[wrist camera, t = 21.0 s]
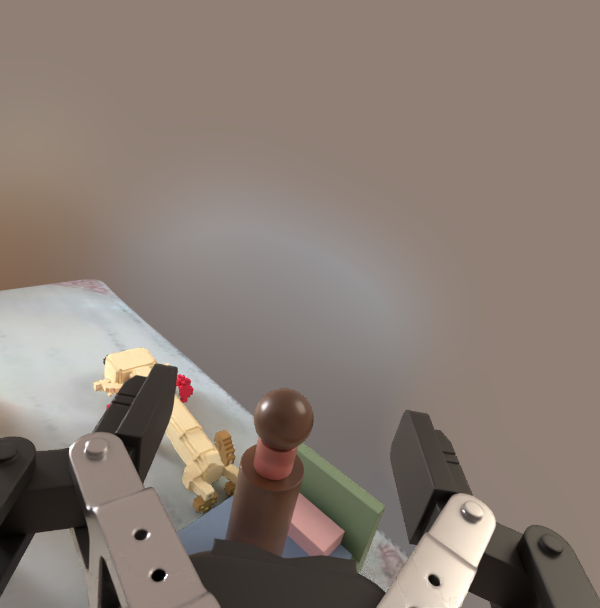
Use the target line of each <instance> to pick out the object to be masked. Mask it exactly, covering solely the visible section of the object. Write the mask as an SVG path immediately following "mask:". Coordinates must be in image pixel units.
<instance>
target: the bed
mask: <svg viewBox="0 0 600 608" xmlns="http://www.w3.org/2000/svg"><path fill="white" fill-rule="evenodd" d="M296 454H297V455H298V456H299V458H300V459H301V461H302V463H303V466H304V477H303V480H302V484H301V488H300V491H299V495H298V498H297V502H296V506H295V509H294V513H293V517H292V520H291V524H290V528H289V531H288V535H287V538H286V542H285V546H284V549H283V553H282V557H283V558H296V557H307V556H317V555H324V556H331V557H337V558H343V559H350V560H356V568H357V573H358V572H359V571H360V570H361V568H362V566H363V563H364V561H365V558H366V556H367V553H368V550H369V548H370V545H371V543H372V540H373V537H374V535H375V532H376V530H377V527H378V525H379V522H380V519H381V517H382V514H383V512H384V509H385V506H384V505H383V504H381V503H380V502H379V501H378V500H376V499H375V498H373V496H371V495H370V494H369V493H367V492H366V491H365V490H363V489H362V488H361V487H360V486H358V485H357V484H356V483H354V482H353V481H352V480H350V479H349V478H348V477H346V476H345V475H344V474H343V473H341V472H340V471H339V470H337V469H336V468H335V467H334V466H332V465H331V464H329V463H328V462H327V461H326V460H325V459H323V458H322V457H321V456H319V455H318V454H316V453H315V452H314V451H313V450H311V449H310V448H309V447H308V446H306V445H305V444H304V443H302V444H300V445H299V446H298V449H297V453H296ZM233 497H234V495H233V496H231V497H230V498H228V499H227V500H225V501H224V502H222V503H221V504H219V505H218V506H216V507H215V508H213V509H212V510H210V511H209V512H207V513H206V514H204V515H203V516H201V517H200V518H198V519H197V520H196V521H194V522H193V523H191V524H190V525H188V526H187V527H185V528H184V529H182V530H181V531H179V532H178V533H177V534H178V536H179V538H180V540H181V542H182V544H183V546H184V548H185V550H186V552H187V554H188V555H191V554H194V553H197V552H202V551H208V550H212V547H213V542H214V538H216V539H222V540H225V538H226V533H227V528H228V523H229V518H230V513H231V508H232V502H233Z"/></svg>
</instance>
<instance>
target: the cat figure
mask: <svg viewBox="0 0 600 608" xmlns="http://www.w3.org/2000/svg"><path fill="white" fill-rule="evenodd" d="M103 363H104V364H105V374H104V377H105V379H103V380H100V381H96V382H94V390H95V391H98V390H100V391H105V392H109V393H108V396H109V397H110V396H111V395H112V394H114V393H116V395H117V393H118V391H119V390H120V388H121V387H122V385H123V384H124V382H126V381H127V380H129V379H130V378H132V377H134V376H135V375H140V376H145V377H147V376H148V375H149V373H150V371H151V369H152V368H153V366H154V364H155V363H157V361H156V360H155V359H154V357H153V356H152V355H151V354H150V353H149V351H148V350H146V349H145V348H144V349H143V348H142V347H141V348H137V349H131V350H127V351H123V352H119V353H113V354H108V355H107V357H105V359H104V362H103ZM163 365H168V366H169V364H168V363H166V364H163ZM177 377H178V378H177V381H176V386H178V388H179V395H180V397H181V398H180V399H179V398H178V397H177V396H176V394H175V399H174V406H173V411H172V415H171V418H170V421H169V424H168V426H167V429H166V431H165V433H166V435H167V436H168V438H169V439H170V440H171V442H172V443H173V445H172V446H173V447H174V448H175V450H176V451H177V453H178V454H179V456H180V457H181V458H182V460H183V461H184V463H185V464H186V465H187V467H185V469H184V473H183V477H182V483H183V484H184V485H185V487H186V488H187V490H190V491H191V490H192V491H194V492H195V493H196V495H197V496H199V497H197V498H195V499H194V501H193V507H194V508H195V510H196V511H197V513H198V512H201V513H202V514H203V513H205V512H206V511H208V510H210V508H211V505H213V504H215V503H217V499H218V496H217V494H216V493H215V490H214V489H213V488H212V486H211V485H210V484H212V483H214V482H216V481H218V478H220V477H221V476H222V475H223V476H226V478H227V479H228V480H231V481H229V482H227V483H226V485H225V488H224V490H225V491H226V492H227V494H228V495H229V496H230V495H232V496H233V495H234V492H235V487H236V482H237V477H238V472H239V469H238V468H237V467H234V466H233V463H234V460H235V455H234V451H235V449H234V448H233V446H234V445H233V444H232V440H231V435H230V434H229V433H228V432H227V431H226V430H225V431H224V430H223V431H220V432H218V433H216V434H215V438H214V441H215V442H216V443H215V445H216V446H217V448H218V449H219V450H218V451H217V449H216V447H215V446H214V445H213V443H212V442H211V441H210V440H209V438H208V437H207V436H206V435H205V433H204V432H203V431H202V427H201V426H200V424H199V423H198V422H197V421H196V419H195V418H194V417H193V416H192V414H191V413H190V412H189V411H188V409H187V408H186V407H185V406H184V404H183V403H184V402H187V399H188V397H190V395H192V394H193V388H192V386H190V383H191V380H190V379H188V378H185V376H184V375H181V374H179V375H177ZM111 403H112V402H111ZM109 405H110V404H109ZM109 405H107V408H108V407H109Z"/></svg>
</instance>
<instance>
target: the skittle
mask: <svg viewBox="0 0 600 608" xmlns="http://www.w3.org/2000/svg"><path fill="white" fill-rule="evenodd" d="M254 425H255V429H256V432H257V434H258V436H259V438H258V442H257V445H254V446H252V447H250V448H249V449H247V450H246V451H245V453H244V454H243V456H242V458H241V462H240V467H239V472H238V477H237V482H236V487H235V492H234V497H233V502H232V508H231V513H230V518H229V523H228V528H227V533H226V538H225V540H229V541H235V542H241V543H248V544H251V545H254V546H256V547H259V548H261V549H263V550H266V551H268V552H271V553H273V554H276V555H278V556H280V557H282V553H283V549H284V546H285V542H286V538H287V535H288V531H289V528H290V524H291V520H292V517H293V513H294V509H295V506H296V502H297V498H298V495H299V491H300V488H301V484H302V480H303V477H304V466H303V463H302V461H301V459H300V458H299V456H298V455H297V454H296V453H297V449H298V446H299V445H300V444H302V443H303V442H304V441H305V440H306V438H307V437H308V436H309V434H310V432H311V429H312V426H313V411H312V408H311V405H310V403H309V402H308V400H307V399H306V398H305V397H304V396H303V395H302V394H300V393H299V392H297V391H295V390H292V389H287V388H281V389H276V390H273V391H271V392H269V393H267V394H266V395H265V396H264V397H263V398H262V399H261V400H260V401H259V403H258V405H257V407H256V410H255V414H254Z"/></svg>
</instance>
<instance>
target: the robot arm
mask: <svg viewBox="0 0 600 608" xmlns="http://www.w3.org/2000/svg"><path fill="white" fill-rule="evenodd" d="M177 373H178V368H177V367H174V366H168V365H163V364H157V363H155V364H154V366H153V368H152V369H151V371H150V373H149V375H148V376H147V377H145V376H140V375H135V376H134V377H132V378H130V379H129V380H127V381H126V382H124V384H123V385H122V387H121V388H120V390H119V391H118V393H117V395H116V396H115V398H114V399H113V401H112V403H111V404H110V405H109V407H108V408H107V410H106V412H105V413H104V415H103V416H102V418H101V419H100V421H99V422H98V424H97V426H96V427H95V429H94V430H93V432H92V433H90V434H87V435H84V436H82V437H80V438H79V439H77V440H76V441H75V442H74V443H73V444H72V446H71V447H70V448H66V449H60V450H48V451H36V449H35V446H34V444H33V443H32V442H31V441H29V440H28V439H25V438H22V437H4V438H0V597H1V595H2V593H3V591H4V589H5V587H6V586H7V584H8V582H9V580H10V578H11V577H12V575H13V573H14V571H15V569H16V567H17V566H18V564H19V562H20V560H21V558H22V556H23V555H24V553H25V551H26V549H27V547H28V545H29V544H30V542H31V540H32V538H33V536H34V534H35V533H38V532H45V531H53V530H61V529H68V528H70V531H71V534H72V537H73V541H74V544H75V547H76V551H77V554H78V557H79V561H80V564H81V567H82V571H83V574H84V577H85V581H86V585H87V591H88V599H89V605H90V608H460V607H461V605H462V603H463V601H464V598H465V596H466V594H467V592H468V591H469V592H471V593H473V594H475V595H477V596H479V597H481V598H484V599H486V600H488V601H490V604H491V608H600V599H599V597H598V595H597V593H596V592H595V590H594V588H593V586H592V584H591V583H590V580H589V578H588V577H587V575H586V573H585V571H584V569H583V567H582V565H581V563H580V561H579V560H578V558H577V556H576V554H575V552H574V550H573V549H572V547H571V546H570V545H569V544H568V542H567V541H566V540H565V539H564V538H562V537H561V536H560V535H559V534H557V533H556V532H554V531H553V530H551V529H549V528H546V527H543V526H539V525H532V526H529V527H528V528H527V529H526V531H525V532H524V534H522V533H519V532H517V531H515V530H513V529H510V528H508V527H505V526H503V525H501V524H499V523H497V522H496V519H495V517H494V514H493V513H492V511H491V510H490V509H489V508H488V507H487V505H485V504H484V503H483V502H482V501H480V500H479V499H477V498H475V497H473V495H472V492H471V490H470V488H469V485H468V483H467V480H466V478H465V475H464V473H463V471H462V468H461V466H460V465H459V461H458V459H457V456H455V452H454V449H453V446H452V444H451V442H450V441H449V440H448V439H447V437H446V436H445V435H444V434H443V433H442V432H441V431H440V430H434V427H433V425H432V422H431V419H430V417H429V415H428V414H426V413H421V412H416V411H410V410H406V411H405V412H404V413H403V416H402V418H401V421H400V424H399V426H398V429H397V432H396V434H395V437H394V440H393V442H392V446H391V452H390V460H391V465H392V469H393V474H394V478H395V482H396V487H397V491H398V495H399V500H400V504H401V509H402V513H403V517H404V522H405V526H406V530H407V535H408V539H409V543H410V544H414V545H417V546H416V548H415V549H414V551H413V552H412V554H411V555H410V557H409V558H408V560H407V561H406V563H405V565H404V566H403V568H402V569H401V571H400V572H399V574H398V575H397V577H396V578H395V580H394V581H393V583H392V585H391V586H390V588H389V589H388V591H387V592H386V593H385V592H384V591H383V590H382V589H381V588H380V587H379V586H378V585H376V584H375V583H373V582H372V581H371V580H369V579H367V578H366V577H364V576H362V575H360V574H358V573H357V568H356V560H350V559H343V558H337V557H331V556H324V555H317V556H307V557H296V558H283V557H280V556H278V555H276V554H273V553H271V552H268V551H266V550H263V549H261V548H259V547H256V546H254V545H251V544H248V543H241V542H235V541H229V540H222V539H216V538H214V542H213V547H212V550H208V551H202V552H197V553H194V554H191V555H188V554H187V552H186V550H185V548H184V546H183V544H182V542H181V540H180V538H179V536H178V534H177V532H176V530H175V528H174V526H173V524H172V522H171V520H170V518H169V516H168V514H167V512H166V510H165V508H164V506H163V504H162V502H161V500H160V498H159V496H158V494H157V493H156V491H155V489H154V488H152V487H149V488H146V489H145V487H144V486H143V483H144V480H145V478H146V476H147V473H148V471H149V469H150V466H151V464H152V461H153V459H154V457H155V454H156V452H157V450H158V447H159V445H160V443H161V440H162V438H163V436H164V433H165V431H166V429H167V426H168V424H169V421H170V418H171V415H172V411H173V406H174V399H175V390H176V381H177Z"/></svg>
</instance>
